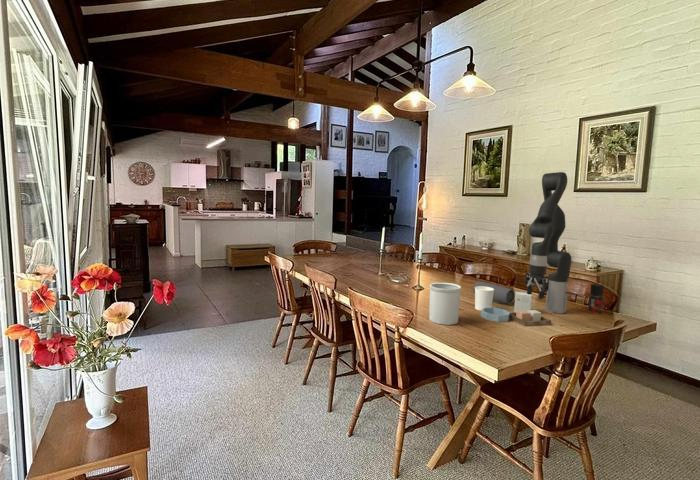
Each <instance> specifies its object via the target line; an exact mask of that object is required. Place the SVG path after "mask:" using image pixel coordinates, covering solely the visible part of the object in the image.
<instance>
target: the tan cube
mask: <svg viewBox="0 0 700 480" xmlns="http://www.w3.org/2000/svg"><path fill="white" fill-rule="evenodd" d="M530 314H531V313H529V312H527V311H525V310H523V311H517V312H516V317H517V318H519V319H521V320H523V321H525V322H527V321H530Z"/></svg>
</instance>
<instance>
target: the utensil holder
mask: <svg viewBox="0 0 700 480" xmlns="http://www.w3.org/2000/svg"><path fill="white" fill-rule="evenodd" d="M461 290H462V286H461V285H459V284H456V283H451V282H450V283H449V282H432V283H430V284H429V308H428V309H429V313H428V314H429V316H428V317H429V319H428V320H429V321H430V322H432V323H434V324H437V325H444V326H451V325H457V324H458V322H459V315H460V299H461Z"/></svg>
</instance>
